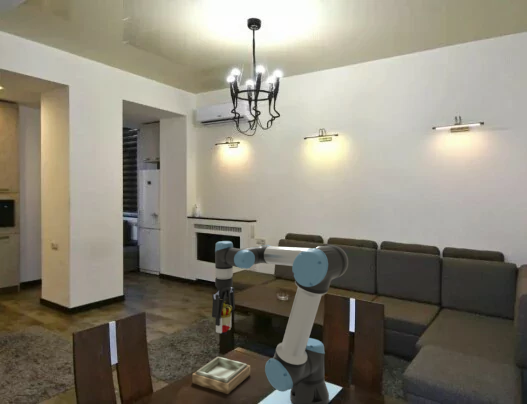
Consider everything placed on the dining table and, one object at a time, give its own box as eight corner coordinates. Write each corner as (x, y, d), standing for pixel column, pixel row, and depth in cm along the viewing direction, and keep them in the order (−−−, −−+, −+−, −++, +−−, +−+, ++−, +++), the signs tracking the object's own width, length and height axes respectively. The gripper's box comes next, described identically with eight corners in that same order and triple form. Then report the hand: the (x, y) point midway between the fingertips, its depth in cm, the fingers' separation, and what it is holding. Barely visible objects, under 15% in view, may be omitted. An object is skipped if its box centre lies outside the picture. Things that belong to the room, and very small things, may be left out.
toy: (234, 331, 159) (234, 298, 159) (228, 338, 153) (228, 303, 152) (219, 329, 161) (219, 296, 161) (212, 336, 155) (212, 301, 154)
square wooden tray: (250, 374, 161) (250, 363, 161) (227, 394, 145) (227, 382, 145) (217, 365, 169) (217, 355, 169) (192, 383, 153) (192, 371, 153)
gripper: (229, 271, 166) (229, 321, 167) (202, 280, 150) (202, 335, 150) (243, 273, 163) (242, 324, 163) (217, 283, 146) (217, 339, 147)
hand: (223, 329), depth 157 cm, fingers closed on toy, 6 cm apart
